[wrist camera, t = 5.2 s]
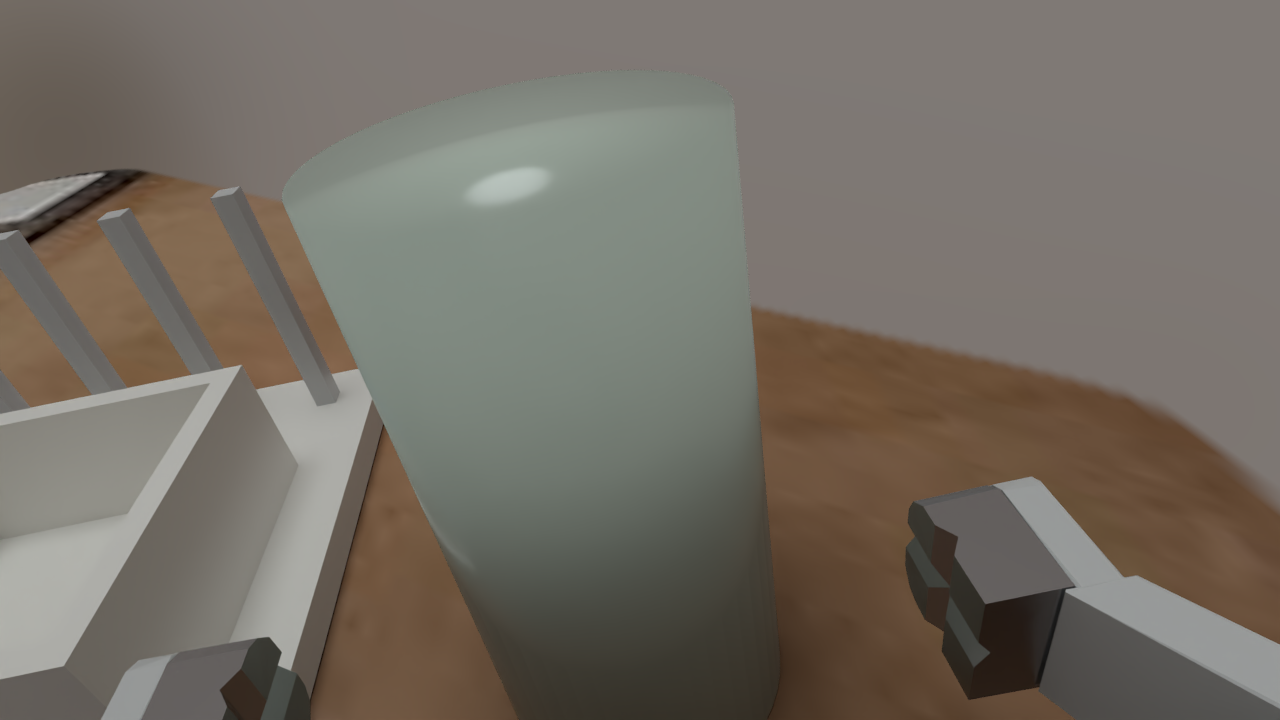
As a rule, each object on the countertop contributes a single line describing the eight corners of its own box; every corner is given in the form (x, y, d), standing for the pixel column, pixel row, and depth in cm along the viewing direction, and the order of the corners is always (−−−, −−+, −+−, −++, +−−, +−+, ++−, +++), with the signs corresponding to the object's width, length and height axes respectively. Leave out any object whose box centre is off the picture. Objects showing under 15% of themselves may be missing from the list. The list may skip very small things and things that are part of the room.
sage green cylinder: (657, 871, 12) (459, 280, 6) (462, 682, 15) (209, 186, 9) (833, 633, 15) (824, 79, 9) (638, 519, 18) (535, 64, 12)
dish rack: (277, 819, 14) (1, 521, 9) (-374, 959, 13) (-986, 724, 9) (393, 387, 25) (295, 163, 21) (46, 458, 25) (-128, 246, 20)
